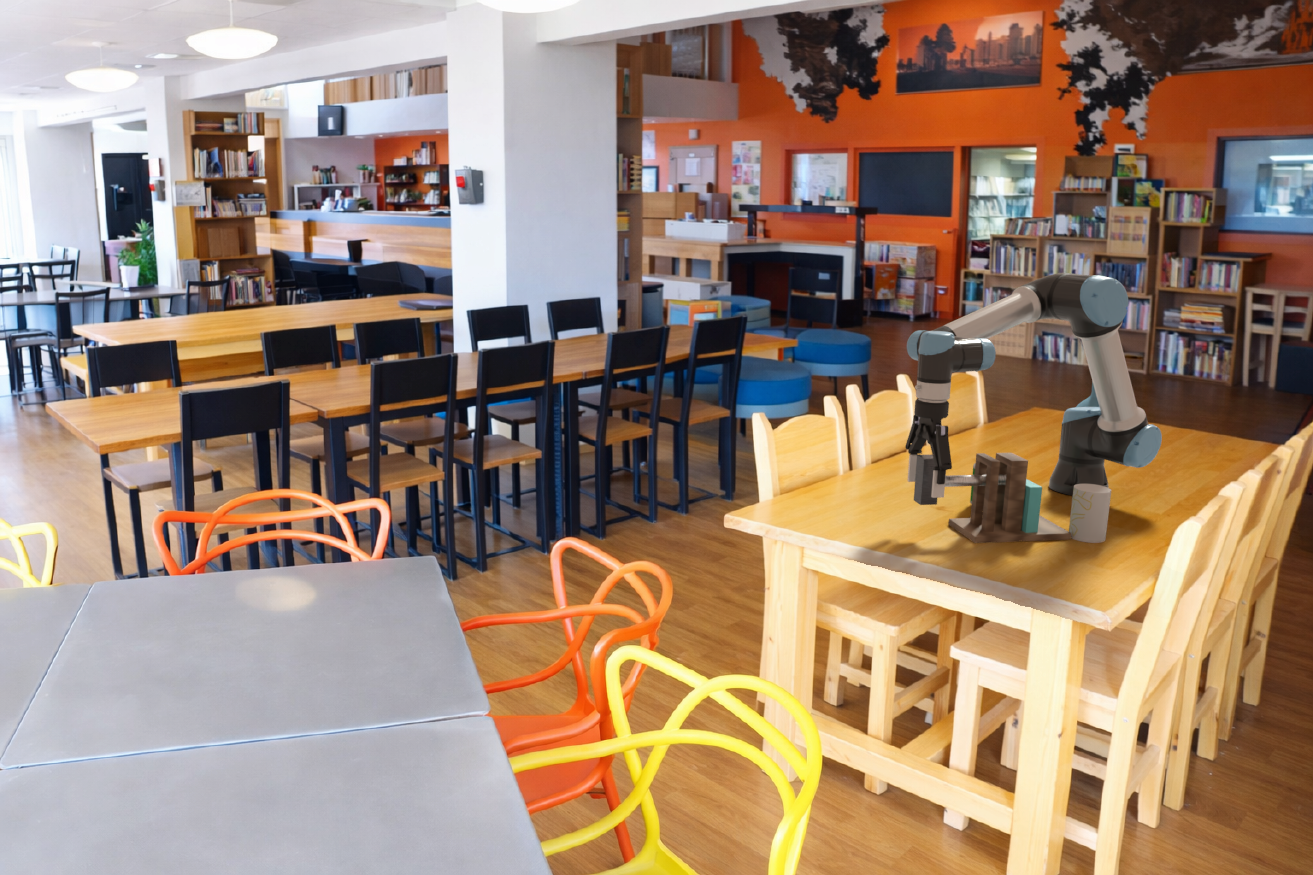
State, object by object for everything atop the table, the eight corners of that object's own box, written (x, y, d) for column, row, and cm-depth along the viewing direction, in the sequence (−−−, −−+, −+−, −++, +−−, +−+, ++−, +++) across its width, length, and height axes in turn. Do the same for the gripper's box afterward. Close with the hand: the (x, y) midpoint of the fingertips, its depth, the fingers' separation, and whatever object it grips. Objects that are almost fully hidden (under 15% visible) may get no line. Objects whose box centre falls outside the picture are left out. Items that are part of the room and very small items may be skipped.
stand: (1039, 521, 257) (1047, 448, 253) (1070, 539, 244) (1079, 462, 240) (948, 524, 253) (954, 450, 249) (974, 543, 240) (982, 465, 236)
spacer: (1014, 518, 254) (1018, 474, 252) (1037, 532, 244) (1042, 487, 241) (1002, 518, 254) (1007, 475, 251) (1025, 532, 243) (1030, 487, 241)
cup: (1062, 532, 249) (1067, 483, 247) (1094, 531, 250) (1100, 483, 247) (1078, 542, 242) (1084, 493, 239) (1112, 542, 242) (1118, 492, 240)
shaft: (1004, 497, 249) (1008, 452, 246) (1012, 502, 245) (1017, 456, 242) (913, 500, 245) (917, 454, 242) (920, 505, 241) (924, 458, 239)
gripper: (895, 389, 249) (889, 475, 254) (940, 410, 225) (932, 504, 230) (925, 389, 250) (918, 474, 255) (972, 410, 226) (964, 503, 231)
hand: (925, 489), depth 243 cm, fingers open, 13 cm apart
